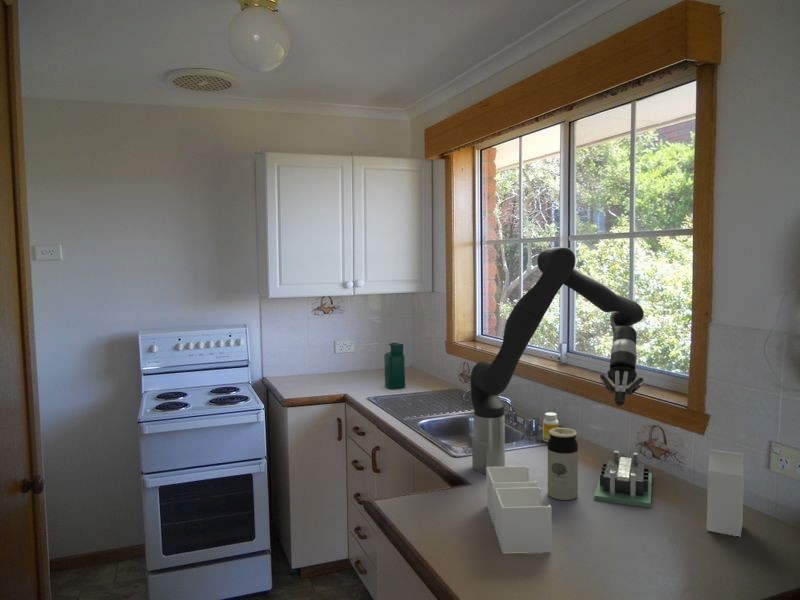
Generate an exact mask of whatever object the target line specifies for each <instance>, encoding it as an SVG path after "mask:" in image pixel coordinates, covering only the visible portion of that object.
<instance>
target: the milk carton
mask: <svg viewBox="0 0 800 600" xmlns="http://www.w3.org/2000/svg"><path fill="white" fill-rule="evenodd" d="M744 458H745V454H743V453H738V452H733V451H732V452H729V451H723V450H717V449H709V458H708V459H709V460H708V467H707V468H708V469H707V498H706V499H707V503H706V504H707V505H706V531H708V532H712V533H716V534H717V533H718V534H722V535H726V534H727V536H731V535H732V537H736V536H739V537H738V538H741V536H742V535H741V534H742V529H743V517H744V515H743V513H744V511H743V509H744V485H745V484H744V483H745V481H744V478H745V459H744Z"/></svg>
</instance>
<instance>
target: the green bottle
mask: <svg viewBox="0 0 800 600" xmlns="http://www.w3.org/2000/svg"><path fill="white" fill-rule="evenodd" d="M388 346H390V348H389V349H390V351H389V352H386V353H384V357H383V358H384V363H383V364H384V387H385V388H386V389H389V390H392V391H393V390H400V389H405V388H406V369H405V368H406V365H405V363H406V361H405V358H406V357H405V354H404V343H398V342H390V343H388Z"/></svg>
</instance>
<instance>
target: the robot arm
mask: <svg viewBox="0 0 800 600" xmlns="http://www.w3.org/2000/svg"><path fill="white" fill-rule="evenodd" d="M576 261H577V260H576V255H575V252H574V251H573V250H572V249H571V248H569V247H568V246H567V247H566V246H558V247H557V246H556V247H548V248H546V249H543V250H542V251H541V252H540V253H539V254H538V255H537V259H536V264H537V267H538V269H539V271H540V272H541V276H540V277H539V278H538V280H537V282H536V283H535V284H534V285H533V286H532V287H531V288H530V289H529V290H528V291H527V292H525V294H524V295H523V296H522V297H521V298H520V299H519V300H518V301H517V303H516V304H515V305H514V307H513V308H512V310H511V312H510V314H509V315H508V317H507V319H506V322H505V325H504V330H503V337H502V339H503V340H502V343H501V346H500V349H499V351H498V352H497V354H496V356H495V357H494V359H493V361H492V362H491V361H488V360H482V361H481V360H480V361H479V362H477V363H476V364H474V365H473V367H472V370H471V373H470V396H471V397H470V398H471V404H472V406H473V411H474V412H473V413H474V414H473V416H474V419H473V421H474V422H473V423H474V424H473V425H474V427H473V429H474V438H472V440H471V443H472V445H471V446H472V447H471V448H472V449H471V453H472V457H471V459H472V460H471V461H472V470H475V471H478V472H480V473H483V474H485V475H486V467H506V456H505V455H506V451H505V450H506V449H505V448H506V446H505V445H506V443H505V442H506V439H505V437H506V434H505V433H506V431H505V428H506V427H505V426H506V425H505V422H506V421H505V416H506V415H505V414H506V413H505V405H504V403H503V402H502V401H501V399H500V396H499V395H501V394H502V393H503V392H504V391H505V390H506V389H507V387H508V385H509V383H511V382H510V381H511V380H512V379H513V375H514V374H515V370H516V368H517V366H518V363H519V361H520V359H521V357H522V355H523V354H524V352H525V350H526V348H527V347H528V345H529V343H530V341H531V340H532V338H533V336H534V335H535V333H536V331H537V329H538V328H539V326H540V325H541V322H542V321H543V318H544V317H545V315H546V313H547V311H548V309H549V308H550V306H551V304H552V302H553V300H554V298H555V297H556V295H557V294H558V292H559V291H560V289H561V288H562V287H563V285H564V286H566V287H568V288H569V289H570V290H573V291H574V292H576V293H577V294H578V295H580V296H581V297H583V298H584V299H586V300H587V301H588V302H589V303H591V304H592V305H593V306H595V307H596V308H598V309H599V310H600V311H602V312H603V313H606V314H607V313H610V315H609V322H610V324H611V325H610V326H611V330H612V333H613V338H612V345H611V349H610V360H609V368H608V370H607V373H606V374H600V376H599V379H600V382H601V384H602V385H603V387H605V388H606V390H607V391H608V392H609V393H610V394H614V404H615V405H616V406H617V407H623V406H624V405H625V404H626V396H627V395H629V396H632V395H633V394H634V393H636V391H638V390H639V389H640V388H641V387H642V386H643V385H644V378H643V377H640V376H638V373H637V371H636V367H637V365H636V364H637V358H638V357H637V338H638V336H637V335H638V334H637V330H636V329H635V328H634V327H632V326H633V325H635V324H637V323H639V322H641V321H642V320H643V319H644V315H645V312H644V309H643V307H642V306H641V305H640V304H639V303H638V302H637V301H635V300H632V299H630V298H628V297H626V296H623V295H620V294H617V293H615V292H614V291H613V290H612V289H611V288H609V287H608V286H607V285H605V284H604V283H601V282H600V281H599V280H597V279H595V278H593V277H590V276H589V275H586V274H584V273H583V272H580V271H579V270H577V269H576V268H575V267H576ZM610 381H611V382H612V383H611V382H610ZM612 384H613V385H615V386H613V385H612ZM628 386H629V387H628Z"/></svg>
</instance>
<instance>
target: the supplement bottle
mask: <svg viewBox="0 0 800 600" xmlns="http://www.w3.org/2000/svg"><path fill="white" fill-rule="evenodd" d="M557 418H558V416H557V413H556V412H545V413H544V419H543V421H542V440H543V442H545V443H548V441H549V439H550V434H549V430H550V429H553V428H560V427H559V426H560V425H559V420H558V419H557Z"/></svg>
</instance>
